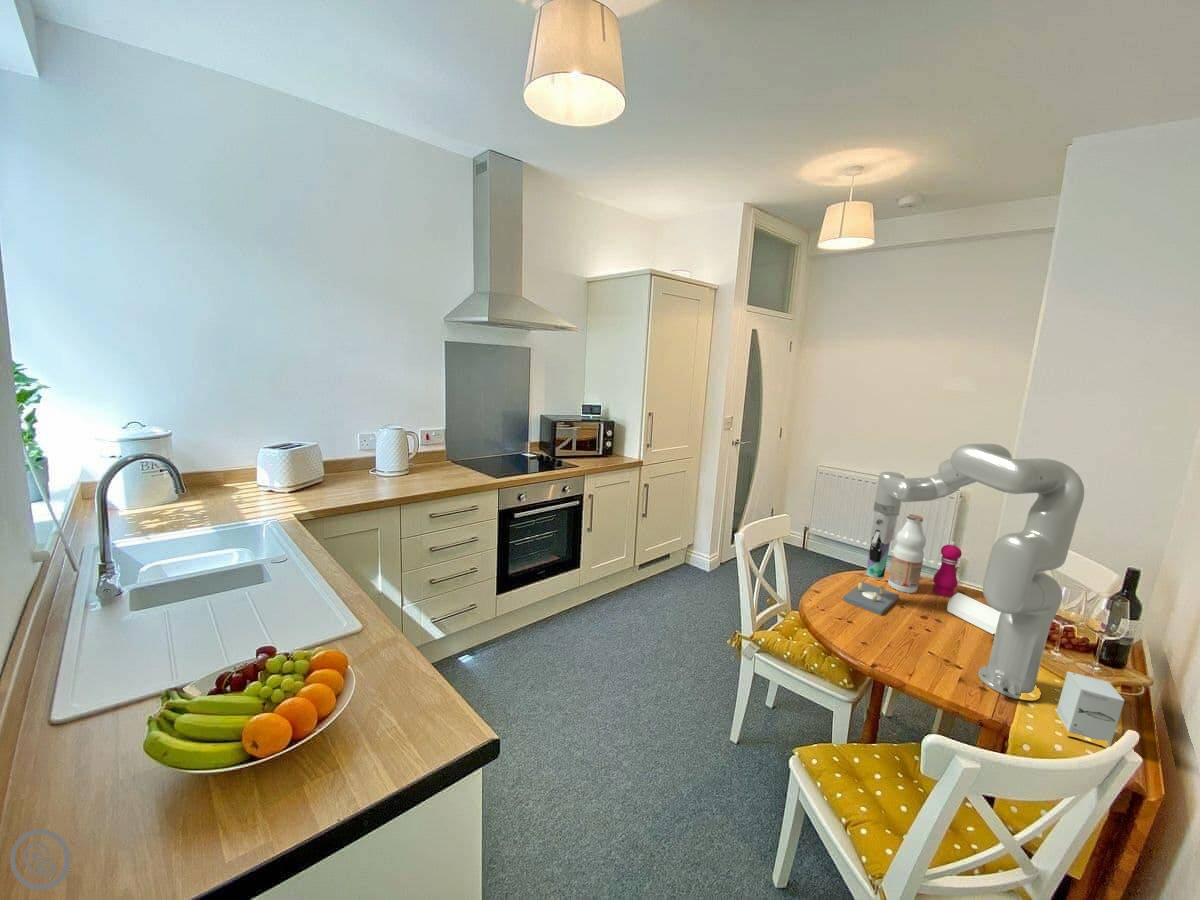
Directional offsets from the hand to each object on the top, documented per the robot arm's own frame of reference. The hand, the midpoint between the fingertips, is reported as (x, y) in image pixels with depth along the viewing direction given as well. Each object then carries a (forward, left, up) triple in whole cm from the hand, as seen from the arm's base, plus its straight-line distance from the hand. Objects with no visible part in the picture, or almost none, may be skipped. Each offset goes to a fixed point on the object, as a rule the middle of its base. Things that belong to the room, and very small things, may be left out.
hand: (877, 558), depth 163 cm
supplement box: (-28, -54, -16) cm, 63 cm away
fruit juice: (+20, -4, -16) cm, 26 cm away
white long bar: (+11, -30, -16) cm, 36 cm away
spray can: (0, 0, -7) cm, 7 cm away
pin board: (0, 0, -16) cm, 16 cm away
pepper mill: (+28, -15, -16) cm, 35 cm away
